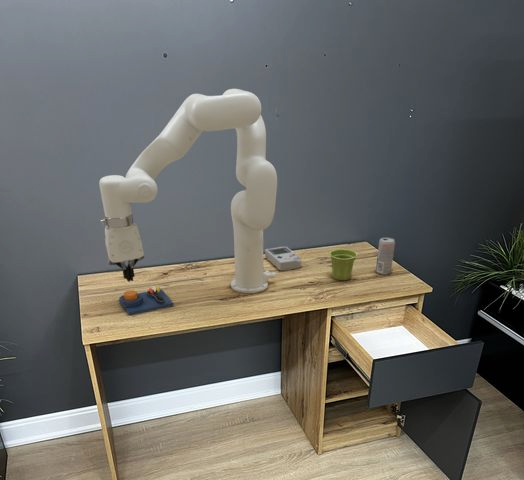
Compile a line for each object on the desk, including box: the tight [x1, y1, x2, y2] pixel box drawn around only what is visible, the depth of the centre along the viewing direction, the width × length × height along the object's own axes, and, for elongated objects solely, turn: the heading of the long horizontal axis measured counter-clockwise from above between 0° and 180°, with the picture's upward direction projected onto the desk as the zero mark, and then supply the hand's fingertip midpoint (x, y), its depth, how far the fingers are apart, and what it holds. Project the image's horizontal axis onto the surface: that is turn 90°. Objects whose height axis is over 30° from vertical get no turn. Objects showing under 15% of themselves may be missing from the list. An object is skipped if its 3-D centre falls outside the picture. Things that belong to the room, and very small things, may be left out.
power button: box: [123, 289, 138, 301], centre depth 160 cm, size 4×4×2 cm
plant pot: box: [328, 248, 358, 281], centre depth 178 cm, size 9×9×9 cm
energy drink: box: [375, 237, 396, 276], centre depth 181 cm, size 5×5×12 cm
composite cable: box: [146, 284, 165, 303], centre depth 163 cm, size 10×5×2 cm, turn 22°
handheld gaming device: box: [264, 245, 302, 272], centre depth 191 cm, size 9×15×4 cm, turn 22°
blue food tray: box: [118, 288, 174, 316], centre depth 163 cm, size 15×12×3 cm
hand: (129, 279), depth 157 cm, fingers closed
